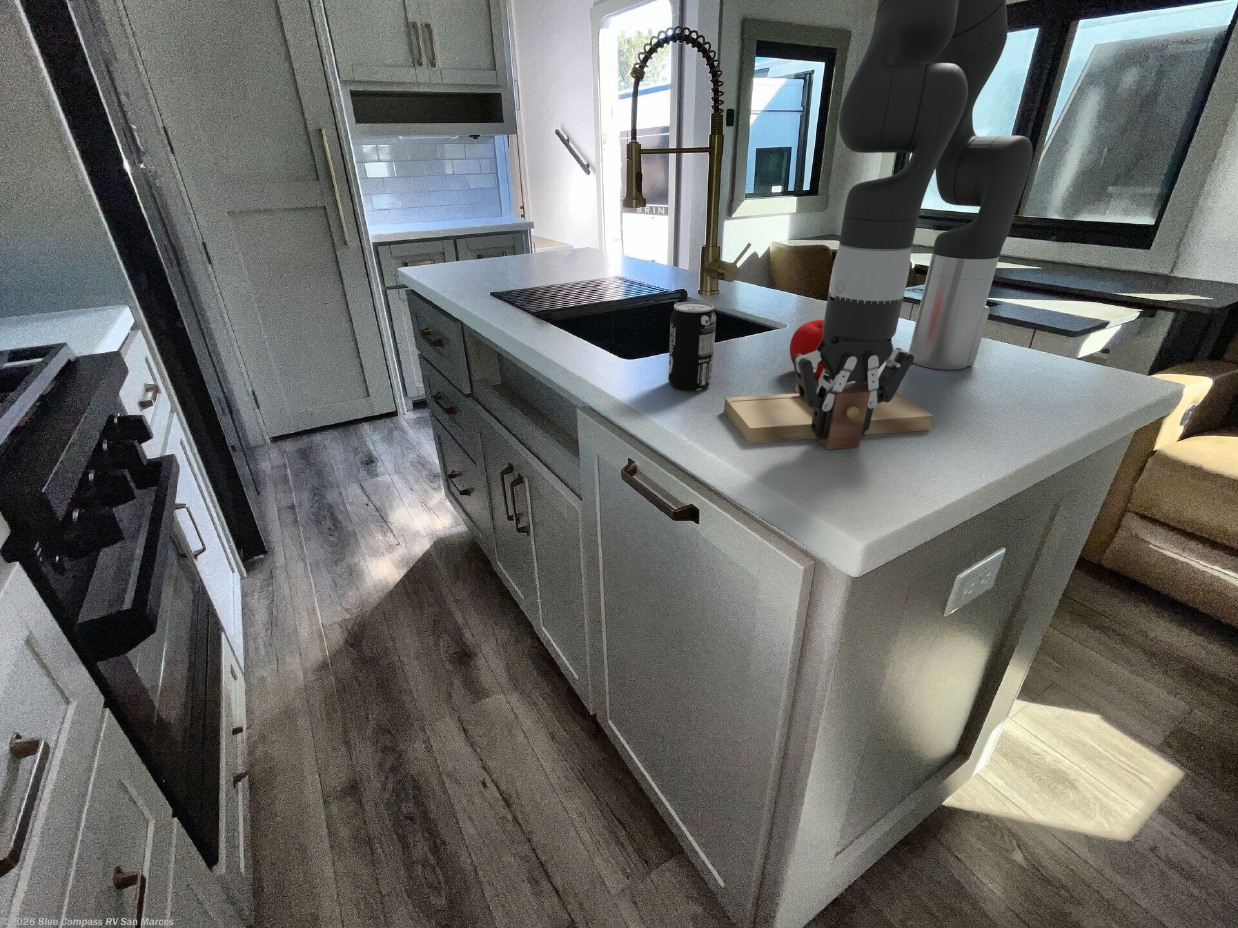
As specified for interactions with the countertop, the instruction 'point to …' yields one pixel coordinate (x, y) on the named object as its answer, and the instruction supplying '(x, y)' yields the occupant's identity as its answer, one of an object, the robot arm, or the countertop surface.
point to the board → (794, 417)
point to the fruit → (808, 341)
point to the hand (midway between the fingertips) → (838, 434)
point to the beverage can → (691, 345)
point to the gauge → (847, 417)
